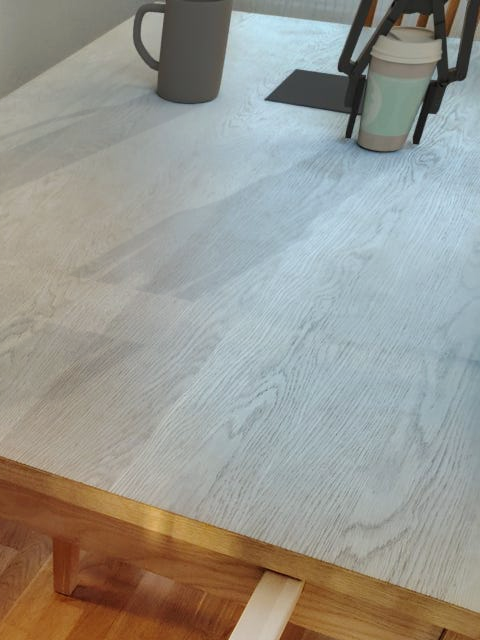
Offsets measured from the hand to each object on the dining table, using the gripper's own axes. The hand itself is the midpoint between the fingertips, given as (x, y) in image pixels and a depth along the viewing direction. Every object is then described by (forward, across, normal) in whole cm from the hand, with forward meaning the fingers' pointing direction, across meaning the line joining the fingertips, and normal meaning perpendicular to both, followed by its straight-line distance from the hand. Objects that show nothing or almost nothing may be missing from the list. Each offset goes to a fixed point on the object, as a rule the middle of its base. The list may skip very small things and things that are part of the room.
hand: (381, 137), depth 115 cm
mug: (+1, +29, -14) cm, 32 cm away
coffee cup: (+1, 0, 0) cm, 1 cm away
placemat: (+1, +5, -19) cm, 19 cm away
